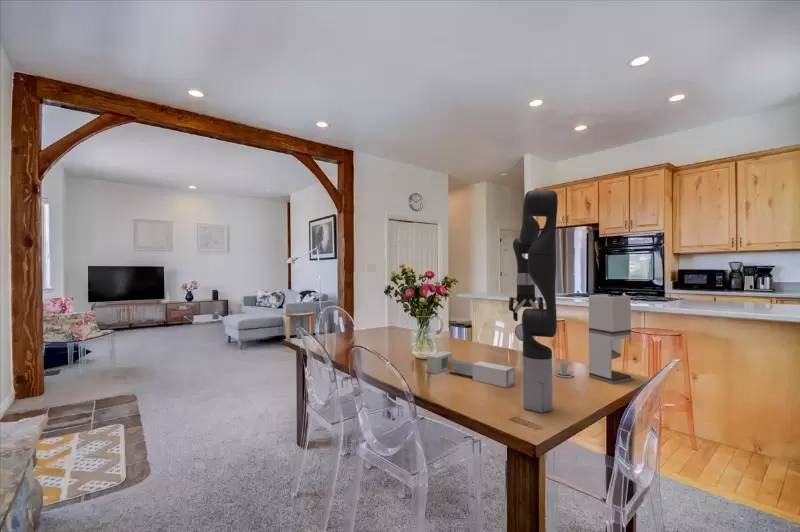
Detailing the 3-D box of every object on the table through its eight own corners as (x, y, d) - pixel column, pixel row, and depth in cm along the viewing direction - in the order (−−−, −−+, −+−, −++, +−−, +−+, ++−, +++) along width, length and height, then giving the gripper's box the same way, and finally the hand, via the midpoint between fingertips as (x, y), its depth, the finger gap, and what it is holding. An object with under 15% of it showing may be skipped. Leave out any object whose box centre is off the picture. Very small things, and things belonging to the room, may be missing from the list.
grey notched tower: (612, 384, 146) (612, 297, 146) (589, 377, 156) (588, 295, 156) (630, 380, 151) (630, 296, 151) (606, 373, 161) (606, 294, 161)
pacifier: (571, 380, 153) (574, 375, 158) (571, 365, 153) (574, 361, 158) (553, 377, 157) (556, 373, 162) (553, 362, 157) (556, 359, 162)
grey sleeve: (507, 387, 143) (507, 371, 143) (472, 379, 153) (472, 364, 153) (514, 383, 148) (514, 367, 148) (479, 376, 158) (479, 361, 158)
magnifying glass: (533, 365, 174) (533, 323, 174) (533, 366, 172) (532, 324, 172) (515, 363, 178) (515, 322, 178) (514, 364, 177) (514, 322, 177)
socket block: (437, 374, 161) (437, 357, 161) (427, 371, 165) (427, 355, 165) (452, 368, 170) (452, 352, 170) (442, 366, 174) (442, 351, 174)
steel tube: (502, 382, 145) (502, 371, 145) (447, 370, 162) (447, 360, 162) (506, 379, 149) (506, 369, 149) (452, 368, 166) (452, 359, 166)
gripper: (511, 284, 154) (512, 322, 154) (545, 284, 154) (545, 322, 154) (506, 283, 162) (507, 319, 161) (539, 283, 161) (539, 319, 161)
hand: (526, 321), depth 158 cm, fingers open, 8 cm apart
